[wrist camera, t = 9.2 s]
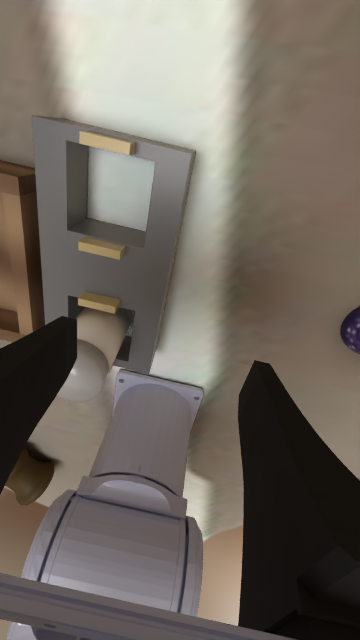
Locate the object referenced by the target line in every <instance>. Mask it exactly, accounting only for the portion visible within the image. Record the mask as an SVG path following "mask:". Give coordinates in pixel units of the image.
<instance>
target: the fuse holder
mask: <svg viewBox="0 0 360 640" xmlns="http://www.w3.org/2000/svg"><path fill="white" fill-rule="evenodd" d="M32 129H33V144H34V160H35V175H36V190H37V206H38V221H39V236H40V252H41V267H42V282H43V298H44V313H45V325H46V324H48V323H50V322H52V321H53V320H55V319H57V318H59V317H61V316H65V317H69V318H74V319H76V318H77V317H78V315H79V314H80V313H81V311H82V310H83V309H84V308H85V307H88V308H93V309H97V310H101V311H105V312H110V313H114V314H115V312H116V311H117V309H118V307H120V308H125V309H129V310H133V311H135V317H134V324H133V331H132V337H129V336H126V337H125V339H124V341H123V343H122V345H121V347H120V349H119V351H118V354H117V356H116V358H115V360H114V362H113V364H112V366H113V365H114V366H118V367H122V368H127V369H131V370H135V371H140V372H144V373H148V374H149V372H150V369H151V365H152V362H153V359H154V355H155V352H156V348H157V343H158V338H159V333H160V328H161V323H162V318H163V313H164V308H165V303H166V298H167V293H168V288H169V283H170V278H171V273H172V268H173V263H174V259H175V254H176V249H177V244H178V239H179V234H180V229H181V224H182V219H183V214H184V209H185V204H186V199H187V194H188V189H189V184H190V179H191V174H192V169H193V164H194V159H195V154H196V151H195V150H191V149H187V148H183V147H178V146H174V145H170V144H166V143H162V142H158V141H153V140H149V139H145V138H141V137H137V136H133V135H128V134H124V133H120V132H116V131H112V130H108V129H103V128H99V127H95V126H91V125H87V124H83V123H78V122H74V121H70V120H66V119H62V118H54V117H43V116H33V115H32ZM88 146H92V147H96V148H100V149H104V150H108V151H113V152H117V153H121V154H125V155H130V156H135V157H139V158H143V159H147V160H151V161H155V162H156V163H155V170H154V177H153V185H152V192H151V199H150V207H149V214H148V221H147V229H146V232H144V231H139V230H135V229H131V228H127V227H123V226H118V225H114V224H110V223H106V222H101V221H97V220H93V219H89V218H87V186H88ZM112 366H111V369H112ZM111 369H110V371H111ZM110 371H109V373H110Z"/></svg>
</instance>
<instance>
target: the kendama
mask: <svg viewBox="0 0 360 640" xmlns="http://www.w3.org/2000/svg"><path fill="white" fill-rule="evenodd" d="M53 474H54V463H52V462H51V461H44V462H40V461H37V460H35V459H33V458H31V457H30V456H29V455H28V451H27V449H26V448H25V447H24V448H23V450H22V452H21V454H20V456H19V458H18V460H17V462H16V464H15V466H14V468H13V470H12V472H11V474H10V476H9V478H8V480H7V482H6V484H5V486H7V487H9V488H10V489H12V490H13V491H14V492H15V493H16V499H17V501H18V503H19V504H20V505H28V504H30V503H32V502H34V501H35V500H36V499H38V498H39V497H40V496H41V495H42V494H43V492H44V491H45V490H46V488H47V487H48V485H49V483H50V482H51V480H52V477H53Z"/></svg>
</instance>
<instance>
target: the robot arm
mask: <svg viewBox="0 0 360 640" xmlns="http://www.w3.org/2000/svg"><path fill="white" fill-rule="evenodd" d="M76 359H77V319H74V318H69V317H65V316H61V317H59V318H57V319H55V320H53V321H52V322H50V323H48V324H46V325H44V326H43V327H41V328H39V329H37V330H36V331H34V332H32V333H30V334H28V335H26V336H24V337H23V338H21V339H19V340H17V341H15V342H13V343H11V344H9V345H7V346H5V347H3V348H1V349H0V494H1V492H2V490H3V488H4V486H5V484H6V482H7V480H8V478H9V476H10V474H11V472H12V470H13V468H14V466H15V464H16V462H17V460H18V458H19V456H20V454H21V452H22V450H23V448H24V447H25V445H26V443H27V441H28V439H29V437H30V435H31V434H32V432H33V430H34V429H35V427H36V426H37V424H38V423H39V421H40V419H41V418H42V416H43V415H44V413H45V412H46V410H47V409H48V407H49V406H50V404H51V403H52V401H53V400H54V398H55V397H56V395H57V394H58V392H59V391H60V389H61V388H62V386H63V385H64V383H65V381H66V380H67V378H68V376H69V374H70V372H71V370H72V368H73V366H74V364H75V362H76ZM121 379H123V380H121ZM203 392H204V391H203V390H202V389H201V388H197V387H193V386H189V385H184V384H180V383H176V382H172V381H167V380H163V379H159V378H154V377H150V376H146V375H141V374H137V373H133V372H129V371H124V370H120V371H118V373H117V377H116V386H115V395H114V404H113V413H112V417H111V420H110V423H109V425H108V428H107V430H106V433H105V436H104V438H103V441H102V443H101V446H100V449H99V451H98V454H97V456H96V459H95V462H94V464H93V467H92V469H91V472H90V475H89V477H87V476H83V477H82V480H81V482H80V485H79V487H78V490H77V491H74V490H67V491H66V492H64V493H63V494H62V495H61V496H59V497H58V498H57V499H56V500H55V501H54V502H53V503H52V504H51V506H50V507H49V509H48V511H47V513H46V515H45V516H44V518H43V520H42V522H41V524H40V526H39V529H38V531H37V533H36V535H35V538H34V540H33V543H32V545H31V548H30V551H29V553H28V556H27V560H26V562H25V565H24V568H23V572H22V575H21V577H16V576H12V575H7V574H3V573H0V619H2V620H7V621H11V625H10V628H9V631H8V634H7V638H6V640H360V481H359V480H358V479H357V478H356V477H355V475H354V474H353V473H352V472H351V471H350V470H349V469H348V468H347V467H346V466H345V465H344V464H343V463H342V462H341V461H340V460H339V459H338V458H337V457H336V455H335V454H334V453H333V452H332V451H331V450H330V448H329V447H328V446H327V445H326V444H325V443H324V441H323V440H322V439H321V438H320V437H319V435H318V434H317V433H316V432H315V430H314V429H313V428H312V426H311V425H310V424H309V422H308V421H307V420H306V418H305V417H304V416H303V414H302V413H301V411H300V410H299V408H298V407H297V406H296V404H295V403H294V401H293V400H292V398H291V397H290V395H289V394H288V392H287V390H286V389H285V387H284V386H283V384H282V383H281V381H280V379H279V378H278V376H277V374H276V373H275V371H274V370H273V368H272V367H271V365H270V364H269V363H264V362H260V361H256V360H255V361H254V363H253V365H252V367H251V369H250V372H249V374H248V376H247V378H246V381H245V383H244V385H243V387H242V389H241V392H240V394H239V405H238V423H239V435H240V445H241V456H242V466H243V480H244V521H243V558H242V578H241V594H240V611H239V623H238V626H234V625H230V624H226V623H221V622H216V621H212V620H208V619H203V618H199V617H197V612H198V606H199V600H200V592H201V583H202V570H203V539H202V533H201V530H200V529H199V527H198V525H197V522H196V520H195V518H193V517H189V516H186V509H187V499H184V498H183V489H184V479H185V470H186V460H187V451H188V442H189V434H190V431H191V429H192V426H193V423H194V420H195V417H196V415H197V412H198V409H199V406H200V403H201V400H202V398H203ZM195 396H198V397H195Z"/></svg>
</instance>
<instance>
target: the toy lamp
mask: <svg viewBox="0 0 360 640" xmlns="http://www.w3.org/2000/svg"><path fill="white" fill-rule="evenodd" d="M341 337H342V340H343V342H344V343H345V344H346V345H347V346H348V347H349V348H350V349H351V350H353V351H355V352H356V353H358V354H360V307H359V308H358V309H356V310H354V311H353V312H352V313H350V314H349V315H348V316H347V318H346V319H345V320H344V322H343V324H342V327H341Z"/></svg>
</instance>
